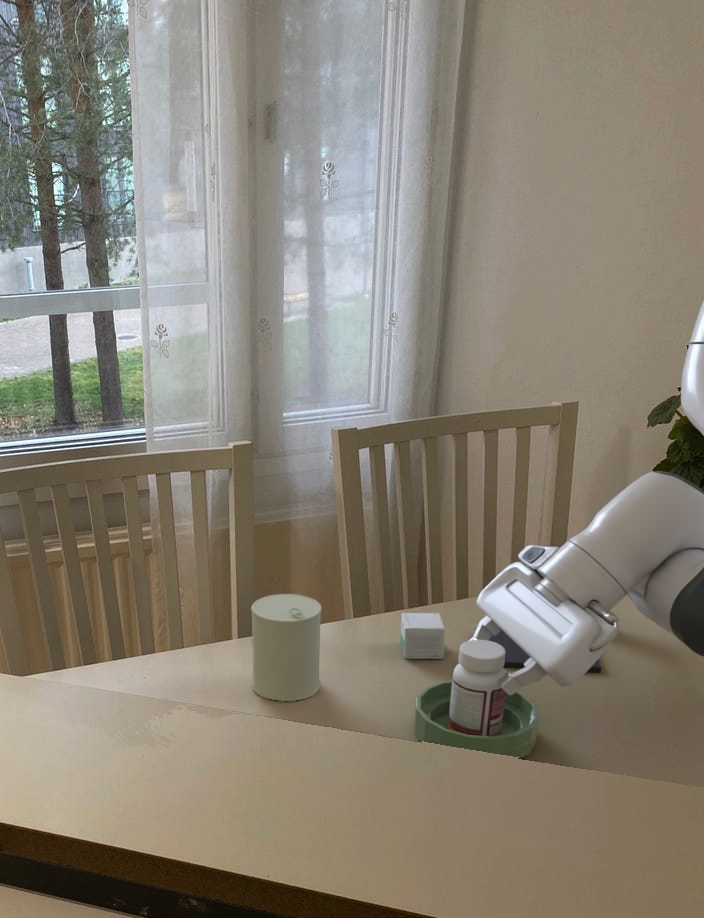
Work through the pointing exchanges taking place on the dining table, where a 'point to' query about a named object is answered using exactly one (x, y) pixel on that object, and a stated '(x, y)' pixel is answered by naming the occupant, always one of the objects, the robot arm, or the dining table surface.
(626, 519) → the robot arm
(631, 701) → the dining table surface
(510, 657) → the mat
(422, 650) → the small box
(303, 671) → the can
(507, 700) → the bowl
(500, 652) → the pill bottle
